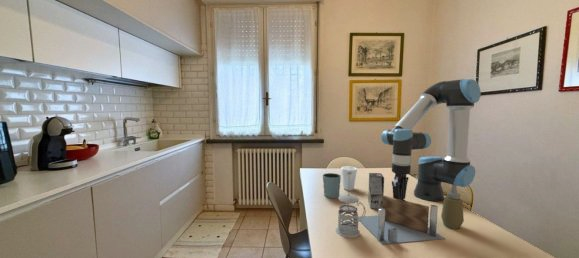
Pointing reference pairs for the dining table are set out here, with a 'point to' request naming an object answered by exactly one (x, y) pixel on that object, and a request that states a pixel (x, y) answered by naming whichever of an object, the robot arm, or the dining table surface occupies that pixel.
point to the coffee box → (376, 190)
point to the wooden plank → (406, 213)
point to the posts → (393, 231)
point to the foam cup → (348, 177)
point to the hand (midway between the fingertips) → (398, 215)
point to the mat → (403, 231)
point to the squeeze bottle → (452, 209)
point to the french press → (348, 216)
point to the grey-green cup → (331, 185)
